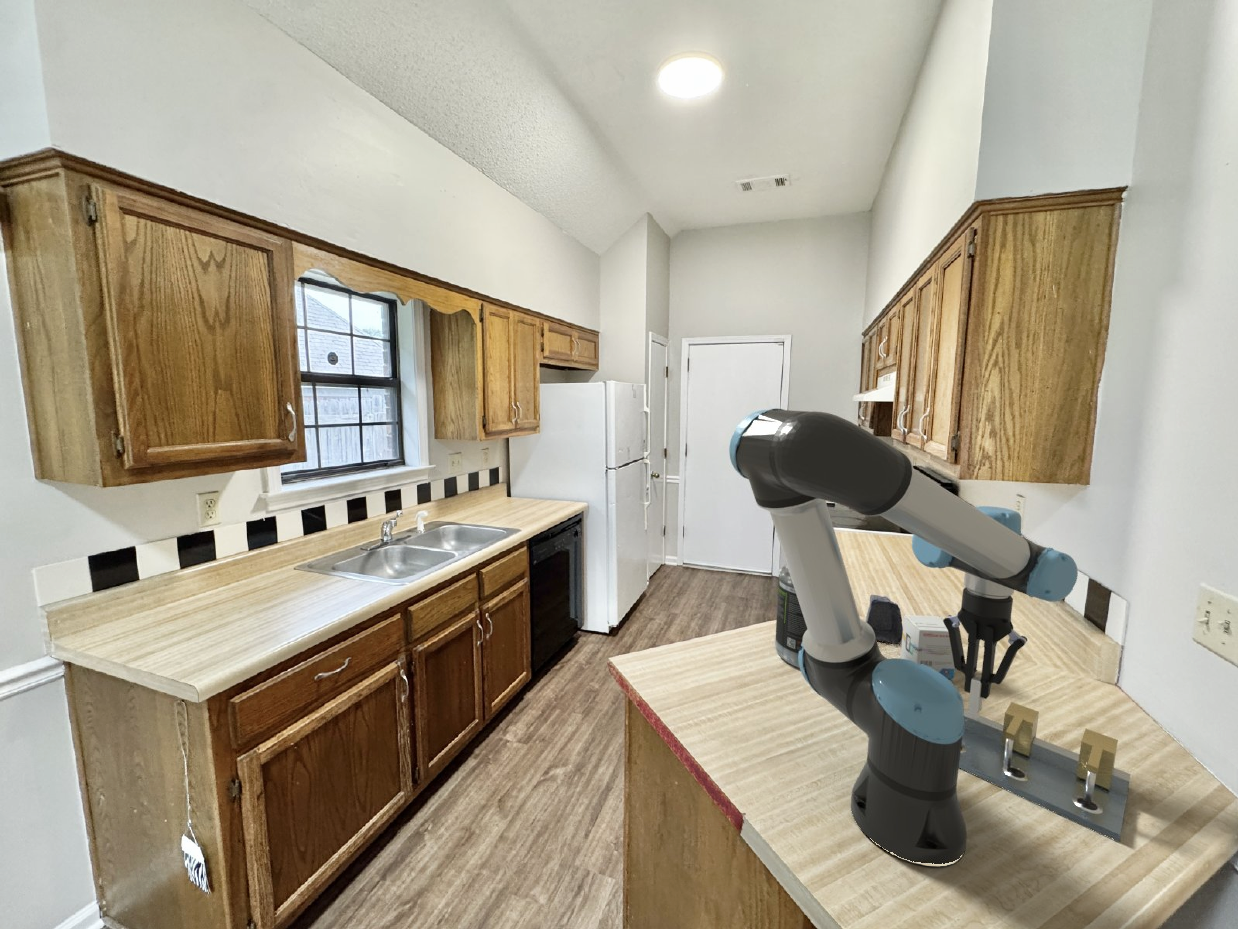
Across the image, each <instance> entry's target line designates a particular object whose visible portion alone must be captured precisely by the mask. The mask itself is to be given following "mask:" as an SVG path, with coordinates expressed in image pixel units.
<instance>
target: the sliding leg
mask: <svg viewBox="0 0 1238 929" xmlns="http://www.w3.org/2000/svg"><path fill="white" fill-rule="evenodd" d="M1039 712H1040V711H1038V710H1035V709H1034V708H1031V707H1030V708H1029V707H1027V706H1024V705H1022V704H1018V703H1016V702H1013V701H1011V702H1010V704H1008V708H1006V710H1005V712H1004V717H1003V718H1004V719H1003V734H1002V742H1001V745H1003V746H1005V752H1004V761H1003V765H1004V766H1005V767H1007V768H1010V766H1011V758H1012V750H1015V751H1017V752H1020V753H1022V754H1024V755H1027V756H1029V755H1030V751H1031V743H1032V740H1033V738H1034V737H1036V736H1037V729H1038V722H1039V714H1040V713H1039ZM1036 738H1037V737H1036Z"/></svg>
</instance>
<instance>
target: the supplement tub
mask: <svg viewBox="0 0 1238 929" xmlns="http://www.w3.org/2000/svg"><path fill="white" fill-rule="evenodd" d="M777 581H778V582H777V585H778V586H777V601H776V602H777V603H776V623H775V640H774V642H775V644H774V645H775V647H774V648H775V650H776V653H777V654H778V656H779V657H780V658H781V659H782V660H784V661H786V662H787V663H788V664H789V665H792V666H793V667H797V668H799V669H800V667H799V660H798V656H799V651H800V650H802V646H801V644H802V641H803V635H804V633H805V632H806V630H807V626H806V623H805V620H804V617H803V613H802V610H801V607H800V604H799V601H798V598H797V595H796V592H795V589H794V585H793V582H792V579H791V576H790V573H789V570H788V567H787V564H786V563H785V565H783V566H782V568H781V569H780V571H779V573H778V580H777Z"/></svg>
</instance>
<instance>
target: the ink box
mask: <svg viewBox="0 0 1238 929" xmlns="http://www.w3.org/2000/svg"><path fill="white" fill-rule="evenodd" d="M943 620H944V618H942V617H941V616H938V615H937V616H936V615H917V614H916V615H913V614H904V616H903V620H902V626H903V633H902V640H901V649H900V659H906V660H911V661H914V662H915V663H916V664H918V665H921V664H923V665H926V666H928V667H930V668H932V669H934V670H936V671H937V672H939V673H940V674H942V675H943V676H945V677H946V678H947V679H948V680H955V671H956V669H955V667H954V661H953V655H952V650H951V644H950V638H949V632H948V630H947V628H946V626H945V624H944V622H943Z"/></svg>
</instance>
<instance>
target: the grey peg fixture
mask: <svg viewBox="0 0 1238 929" xmlns="http://www.w3.org/2000/svg"><path fill="white" fill-rule="evenodd" d="M1003 725H1004V723H1001V722H997V721H995V720H993V719H990V718H987V717H984V716H983V715H980V714H978V715H976V714H973V713H971V712H968V709H964V726H965V728H964V733H963V736H962V745H961V753H960V761H959V768H961V769H960V770H962V769H963V770H962V771H964V770H965V771H964V772H966V771H968V772H970V773H973V774H975V775H977V776H978V777H977V776H976V777H977V778H979V777H981V778H983V779H985V780H988V781H989V782H988V783H990V782H992V783H993V784H992V783H991V784H992V785H994V784H996V785H998V786H1000V787H1003V788H1004V789H1003V788H1002V789H1003V790H1005V789H1006V790H1005V791H1007V790H1009V791H1011V792H1013V793H1014V795H1015V794H1017V795H1016V796H1018V795H1019V796H1018V797H1020V796H1021V797H1020V798H1022V797H1024V798H1026V799H1027V801H1028V800H1029V802H1031V801H1033V802H1034V803H1033V802H1032V803H1033V804H1035V803H1037V804H1040V805H1041V806H1043V807H1045V808H1044V809H1046V808H1047V809H1046V810H1048V809H1049V811H1050V812H1052V811H1054V812H1056V813H1057V815H1059V814H1060V815H1059V816H1061V817H1063V818H1065V819H1067V818H1068V820H1069V821H1072V822H1074V823H1076V822H1077V823H1076V824H1078V825H1080V826H1082V825H1084V826H1085V827H1084V826H1083V827H1084V828H1087V827H1088V828H1087V829H1089V828H1090V829H1089V830H1091V829H1092V830H1091V831H1093V830H1094V831H1093V832H1095V831H1096V833H1097V832H1099V833H1098V834H1100V833H1101V834H1100V835H1102V834H1103V835H1102V836H1104V835H1106V836H1108V837H1110V838H1113V839H1114V840H1113V841H1115V840H1116V841H1115V842H1117V841H1118V842H1117V843H1120V840H1121V839H1120V838H1121V832H1122V829H1121V828H1123V823H1124V815H1125V811H1126V805H1127V800H1128V793H1129V787H1130V780H1131V773H1129V772H1126V771H1123V770H1121V769H1119V768H1116V767H1115V762H1116V755H1117V750H1118V749H1117V748H1118V742H1119V740H1118V739H1116V738H1113V737H1110V736H1108V735H1104V734H1102V733H1099V732H1096V731H1094V730H1091V729H1088V728H1084V729H1085V730H1084V731H1083V732H1084V733H1083V734H1082V735H1083V736H1082V738H1081V743H1080V749H1079V753H1078V752H1075V751H1072V750H1070V749H1066V748H1065V747H1061V746H1059V745H1057V744H1054V743H1052V742H1049V741H1046V740H1045V739H1044V740H1043V739H1041V738H1038V737H1034V738H1033V740H1032V743H1031V751H1030V755H1029V756H1027V755H1024V754H1022V753H1020V752H1017V751H1015V750H1012V758H1011V766H1010V768H1007V767H1005V766H1004V765H1003V761H1004V752H1005V746H1003V745H1001V742H1002V734H1003ZM968 772H967V773H968ZM970 773H969V774H970ZM975 775H974V776H975ZM981 778H980V779H981ZM983 779H982V780H983ZM985 780H984V781H985ZM996 785H995V786H996ZM998 786H997V787H998ZM1000 787H999V788H1000ZM1009 791H1008V792H1009ZM1011 792H1010V793H1011ZM1013 793H1012V794H1013ZM1024 798H1023V799H1024ZM1026 799H1025V800H1026ZM1037 804H1036V805H1037ZM1041 806H1040V807H1041ZM1043 807H1042V808H1043ZM1054 812H1053V813H1054ZM1056 813H1055V814H1056ZM1106 836H1105V837H1106ZM1108 837H1107V838H1108ZM1110 838H1109V839H1110Z"/></svg>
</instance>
